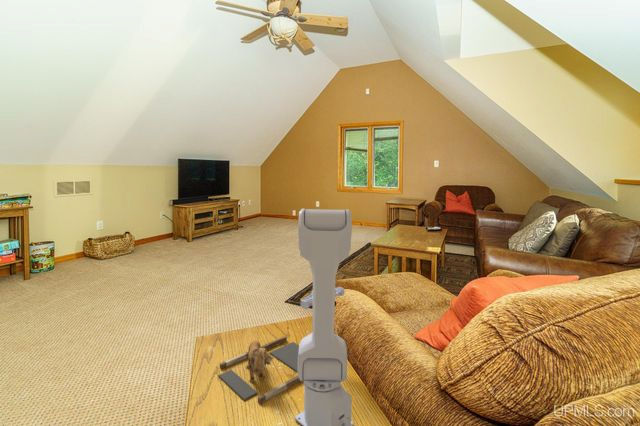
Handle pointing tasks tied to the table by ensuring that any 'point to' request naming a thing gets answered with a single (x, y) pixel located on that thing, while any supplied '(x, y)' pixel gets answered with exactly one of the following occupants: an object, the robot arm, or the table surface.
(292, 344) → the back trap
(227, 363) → the wooden sticks
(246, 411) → the table surface
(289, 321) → the table surface
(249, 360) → the lion figurine
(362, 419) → the table surface
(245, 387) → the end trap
